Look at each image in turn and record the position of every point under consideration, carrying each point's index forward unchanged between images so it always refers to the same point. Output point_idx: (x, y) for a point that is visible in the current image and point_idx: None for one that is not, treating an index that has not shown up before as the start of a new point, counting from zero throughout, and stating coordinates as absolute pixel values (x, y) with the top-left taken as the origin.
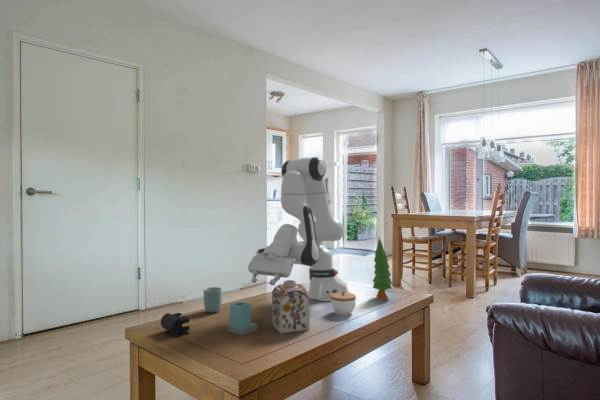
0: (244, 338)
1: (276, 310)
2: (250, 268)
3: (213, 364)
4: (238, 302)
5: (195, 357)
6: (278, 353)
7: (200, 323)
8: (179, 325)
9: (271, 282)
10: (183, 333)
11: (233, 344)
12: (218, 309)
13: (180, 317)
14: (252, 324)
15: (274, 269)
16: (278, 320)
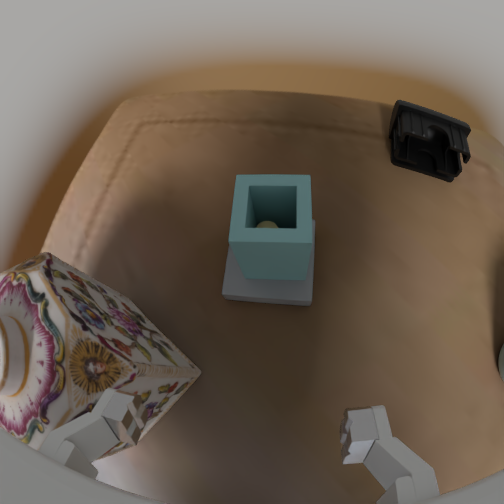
0: (214, 211)
1: (121, 314)
2: (493, 483)
3: (190, 97)
4: (304, 224)
5: (244, 94)
6: (92, 189)
7: (449, 242)
8: (394, 118)
9: (114, 390)
10: (393, 149)
11: (215, 166)
12: (499, 365)
13: (420, 122)
14: (238, 281)
15: (59, 494)
16: (124, 306)
